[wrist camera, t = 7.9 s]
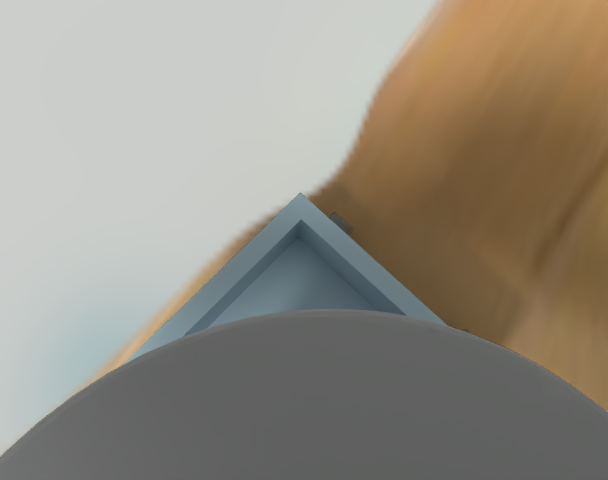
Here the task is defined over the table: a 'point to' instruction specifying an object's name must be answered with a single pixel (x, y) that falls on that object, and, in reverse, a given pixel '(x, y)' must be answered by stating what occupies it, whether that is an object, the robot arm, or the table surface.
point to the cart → (293, 277)
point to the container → (321, 409)
